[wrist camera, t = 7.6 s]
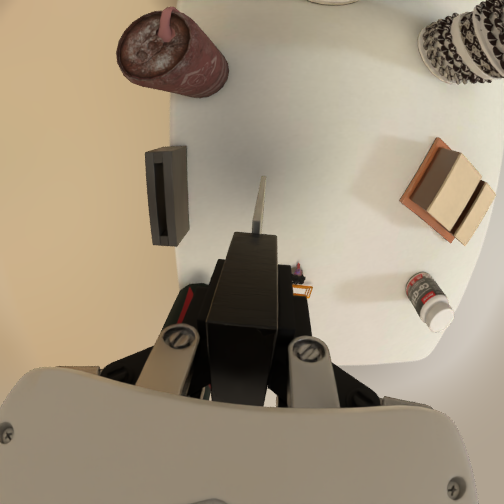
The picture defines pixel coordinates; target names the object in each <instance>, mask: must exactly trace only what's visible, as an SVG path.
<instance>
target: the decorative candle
mask: <svg viewBox="0 0 504 504" xmlns="http://www.w3.org/2000/svg"><path fill="white" fill-rule="evenodd" d="M495 3H496V4H495ZM418 49H419V52H420V54H421V57H422V59H423V62H424V63H425V65H426V66H427V67H428V69H429V70H430V71H431V73H432V74H434V75H435V76H436V77H437V78H439V79H440V80H441V81H444V82H446V83H449V84H458V85H459V84H460V83H461V82H462V81H463V83H464V84H467V80H470V82H471V83H476V82H477V81H478V82H480V83H484V82H485V81H486V82H488V83H491V82H492V79H502V78H504V0H486V2H481V3H480V4H479V5H476V7H474V11H472V12H465V13H462V14H460V15H458V14H457V13H453V14H452V17H451V16H447V17H446V18H445V20H443V19H439V20H438V21H437V22H433V23H431V25H429V26H426V27H425V28H424V29H422V30H421V31H420V34H419V37H418Z"/></svg>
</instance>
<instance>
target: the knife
mask: <svg viewBox="0 0 504 504" xmlns="http://www.w3.org/2000/svg"><path fill="white" fill-rule="evenodd" d="M265 187H266V176H262V177H261V182H260V187H259V192H258V196H257V201H256V206H255V211H254V216H253V222H252V233H244V232H234V235H233V238H232V241H231V244H230V247H229V250H228V253H227V256H226V259H225V262H224V265H223V269H222V272H221V275H220V278H219V281H218V284H217V287H216V291H215V294H214V297H213V300H212V303H211V306H210V310H209V313H208V316H207V319H206V332H207V348H208V362H209V375H210V387H211V398H212V401H215V402H223V403H231V404H240V405H250V406H262V407H263V406H264V401H265V395H266V391H267V386H268V381H269V375H270V370H271V365H272V359H273V354H274V348H275V342H276V337H277V331H278V260H277V236H276V235H267V234H262V223H263V211H264V199H265Z"/></svg>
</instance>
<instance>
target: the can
mask: <svg viewBox="0 0 504 504" xmlns="http://www.w3.org/2000/svg"><path fill="white" fill-rule="evenodd" d="M116 55H117V63H118V65H119V67H120V69H121V71H122V73H123V75H124V76H125V77H126V78H127V79H128V80H129V81H130V82H132V83H134V84H137V85H140V86H142V87H148V88H153V89H158V90H163V91H167V92H172V93H176V94H181V95H185V96H189V97H194V98H203V97H208V96H210V95H212V94H214V93H216V92H218V91H219V90H220V89H221V88H222V87H223V86H224V84H225V82H226V80H227V78H228V73H229V68H228V63H227V61H226V59H225V57H224V56H223V55H222V53H221V52H220V51H219V50H218V49H217V47H216V46H215V45H214V44H213V43H212V41H211V40H210V39H209V38H208V37H207V36H206V34H205V33H204V32H203V31H202V30H201V29H200V27H199V26H198V25H197V24H196V23H195V22H194V21H193V20H192V19H191V18H190V17H188V16H187V15H185V14H184V13H181V12H179V11H178V10H177V9H176V8H175V7H167V8H166V9H164V10H163V11H154V12H151V13H148V14H146V15H143V16H142V17H140V18H138V19H137V20H135V21H134V22H132V24H131V25H130V26H129V27H128V28H127V29H126V30H125V31H124V33H123V35H122V36H121V38H120V40H119V43H118V47H117V51H116Z"/></svg>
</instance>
